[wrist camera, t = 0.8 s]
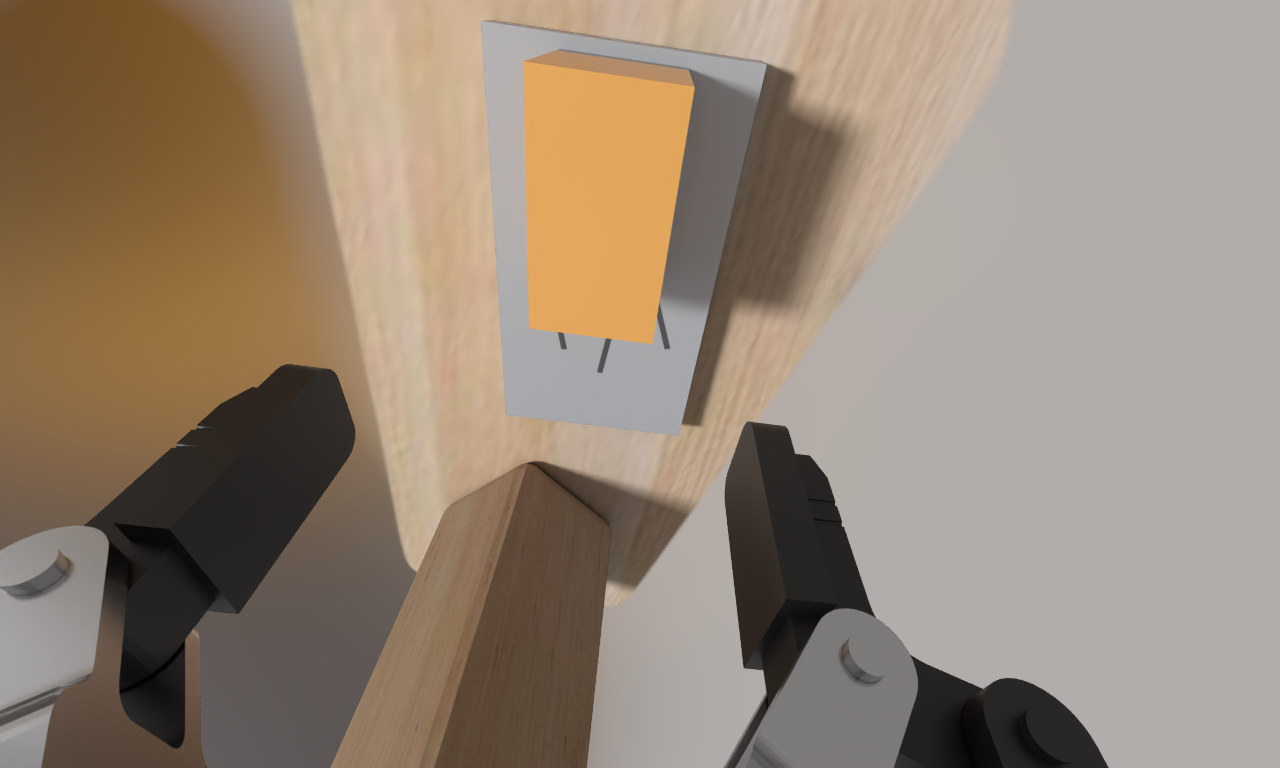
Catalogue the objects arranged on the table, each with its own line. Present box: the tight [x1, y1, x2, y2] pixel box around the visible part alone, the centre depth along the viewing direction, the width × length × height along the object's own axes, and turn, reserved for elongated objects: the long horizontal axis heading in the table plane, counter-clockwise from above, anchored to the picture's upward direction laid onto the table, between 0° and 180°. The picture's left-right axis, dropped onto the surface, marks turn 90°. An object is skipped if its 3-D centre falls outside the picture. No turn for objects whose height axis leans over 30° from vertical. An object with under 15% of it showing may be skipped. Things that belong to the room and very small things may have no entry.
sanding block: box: [523, 49, 695, 344], centre depth 19 cm, size 9×5×6 cm, turn 173°
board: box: [481, 20, 767, 436], centre depth 25 cm, size 20×11×2 cm, turn 173°
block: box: [331, 464, 611, 768], centre depth 31 cm, size 10×10×20 cm
